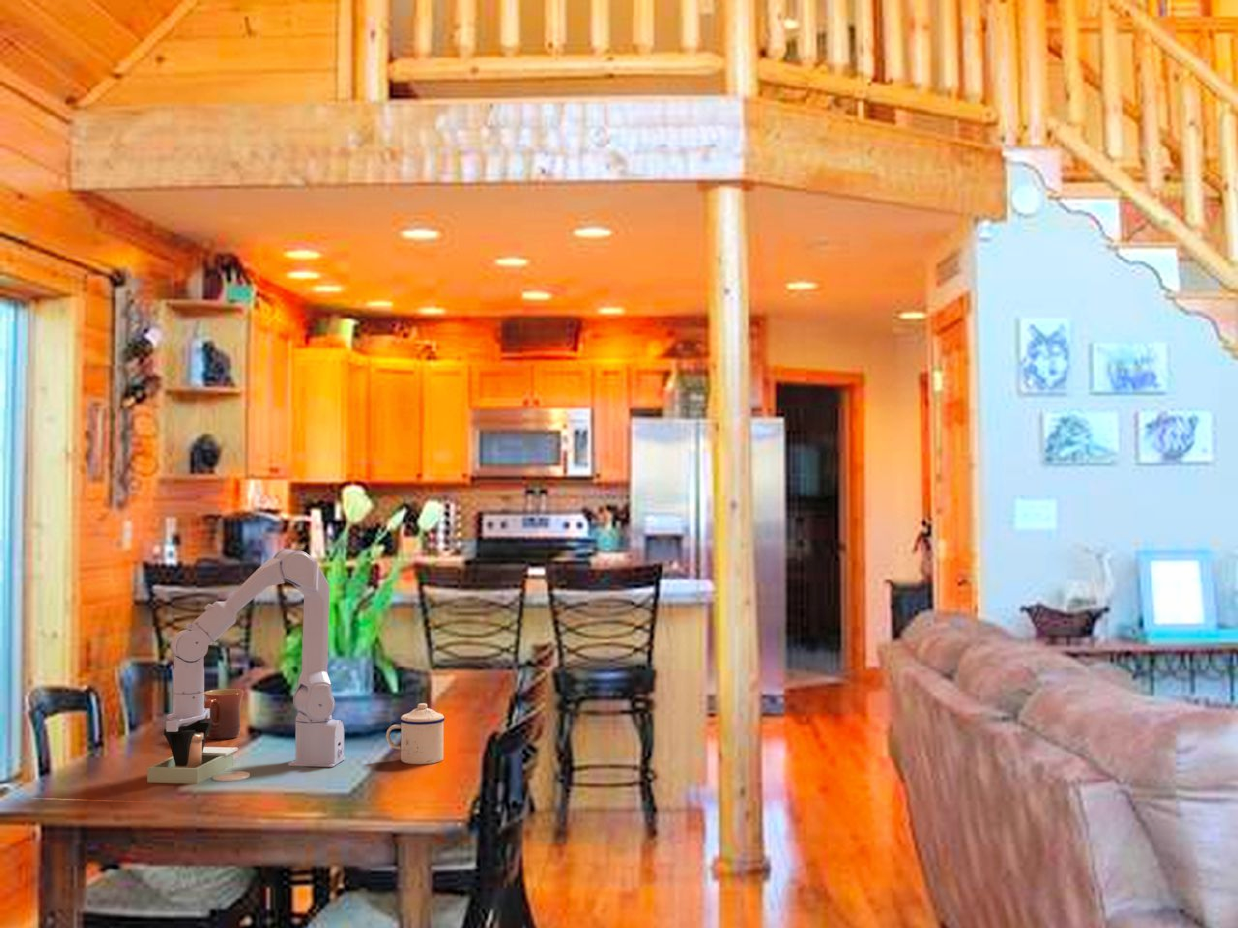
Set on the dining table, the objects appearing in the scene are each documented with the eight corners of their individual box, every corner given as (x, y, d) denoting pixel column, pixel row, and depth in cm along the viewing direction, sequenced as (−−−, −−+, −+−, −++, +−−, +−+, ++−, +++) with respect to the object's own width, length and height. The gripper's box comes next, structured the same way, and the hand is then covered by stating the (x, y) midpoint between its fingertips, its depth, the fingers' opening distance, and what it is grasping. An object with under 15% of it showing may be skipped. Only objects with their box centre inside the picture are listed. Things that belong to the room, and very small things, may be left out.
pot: (208, 770, 244) (208, 731, 244) (195, 776, 238) (195, 737, 238) (181, 769, 244) (181, 731, 244) (167, 776, 239) (168, 736, 239)
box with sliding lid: (237, 765, 251) (237, 747, 252) (198, 785, 234) (199, 766, 234) (187, 763, 253) (187, 746, 253) (145, 783, 235) (145, 765, 235)
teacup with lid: (446, 755, 261) (447, 700, 261) (441, 765, 252) (441, 707, 252) (389, 755, 260) (390, 700, 261) (382, 765, 251) (382, 707, 252)
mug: (215, 733, 285) (216, 688, 285) (250, 734, 283) (250, 689, 284) (187, 743, 273) (188, 696, 274) (223, 745, 272) (224, 698, 272)
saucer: (255, 774, 243) (255, 771, 243) (240, 783, 236) (240, 779, 236) (221, 773, 243) (221, 770, 243) (205, 782, 236) (205, 778, 237)
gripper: (186, 686, 249) (185, 753, 249) (151, 698, 235) (150, 769, 234) (219, 686, 248) (219, 754, 248) (186, 698, 234) (186, 770, 234)
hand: (188, 762), depth 241 cm, fingers closed on pot, 5 cm apart
